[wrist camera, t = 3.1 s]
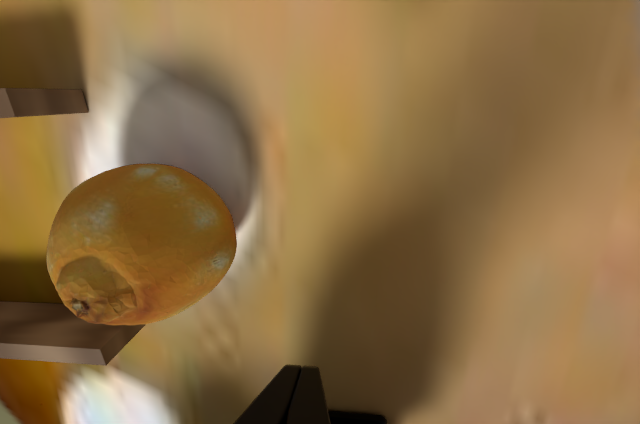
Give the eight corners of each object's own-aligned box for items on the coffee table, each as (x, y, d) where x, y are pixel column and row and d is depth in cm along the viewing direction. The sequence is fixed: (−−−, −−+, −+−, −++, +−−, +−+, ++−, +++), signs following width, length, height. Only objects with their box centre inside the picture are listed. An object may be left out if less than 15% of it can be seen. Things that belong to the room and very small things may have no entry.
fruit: (186, 338, 20) (118, 392, 12) (79, 261, 20) (-61, 263, 12) (266, 230, 21) (255, 213, 13) (167, 158, 21) (95, 99, 13)
